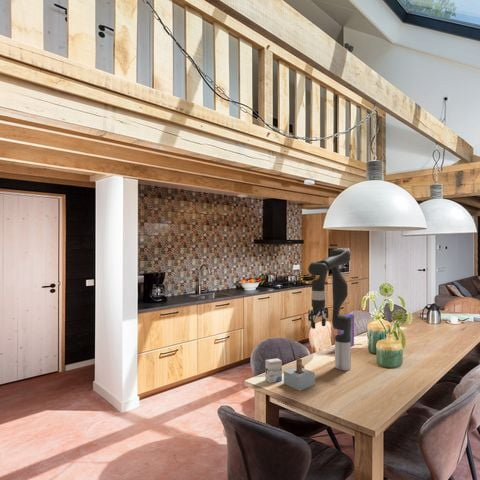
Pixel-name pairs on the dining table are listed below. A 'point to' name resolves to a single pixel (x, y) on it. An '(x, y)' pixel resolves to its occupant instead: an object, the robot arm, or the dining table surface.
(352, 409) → the dining table surface
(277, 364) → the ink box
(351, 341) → the cereal box
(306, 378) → the hole block
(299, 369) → the long pin
